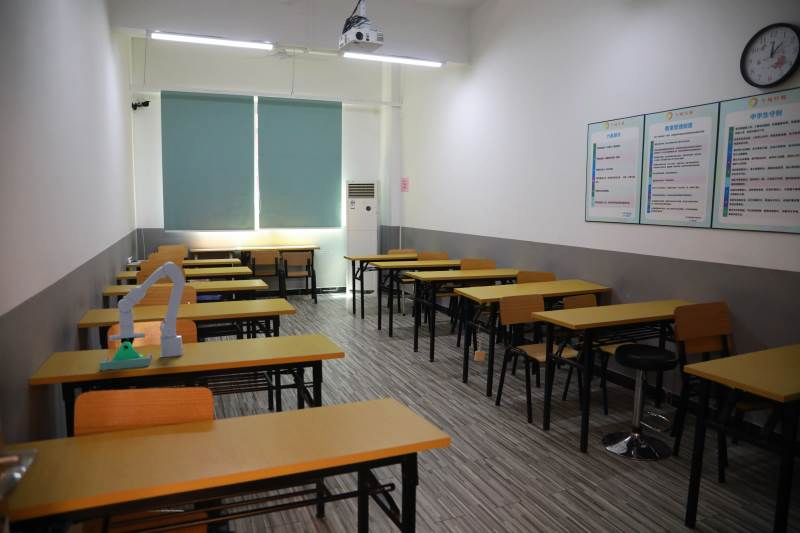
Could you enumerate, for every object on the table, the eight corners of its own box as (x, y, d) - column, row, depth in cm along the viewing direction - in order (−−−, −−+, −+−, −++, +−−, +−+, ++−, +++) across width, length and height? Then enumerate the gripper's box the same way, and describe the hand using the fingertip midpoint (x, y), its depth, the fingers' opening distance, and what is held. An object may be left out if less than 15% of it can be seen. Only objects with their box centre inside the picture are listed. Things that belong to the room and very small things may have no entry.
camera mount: (143, 359, 248) (142, 337, 246) (141, 364, 240) (140, 341, 239) (114, 362, 244) (112, 340, 243) (111, 367, 236) (109, 344, 235)
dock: (152, 358, 249) (151, 350, 249) (148, 365, 237) (148, 358, 236) (105, 362, 243) (105, 355, 242) (100, 370, 230) (99, 362, 230)
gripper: (145, 322, 250) (147, 350, 252) (110, 324, 246) (112, 353, 247) (143, 325, 244) (145, 354, 245) (107, 328, 239) (109, 357, 240)
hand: (128, 354), depth 246 cm, fingers closed
